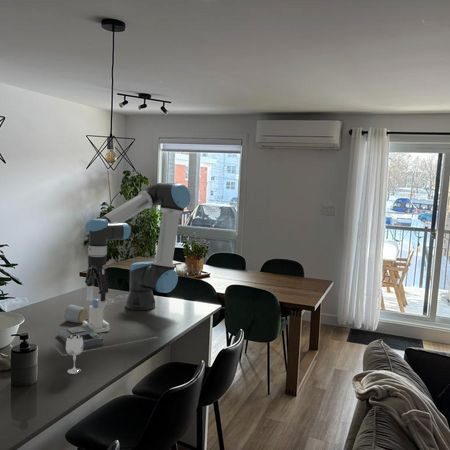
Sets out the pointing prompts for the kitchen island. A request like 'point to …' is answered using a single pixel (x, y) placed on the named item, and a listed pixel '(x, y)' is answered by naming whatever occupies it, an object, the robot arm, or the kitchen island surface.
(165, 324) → the kitchen island surface
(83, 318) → the ceramic mug
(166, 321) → the kitchen island surface
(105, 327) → the holster
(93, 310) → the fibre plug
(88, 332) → the port panel
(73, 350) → the wineglass
